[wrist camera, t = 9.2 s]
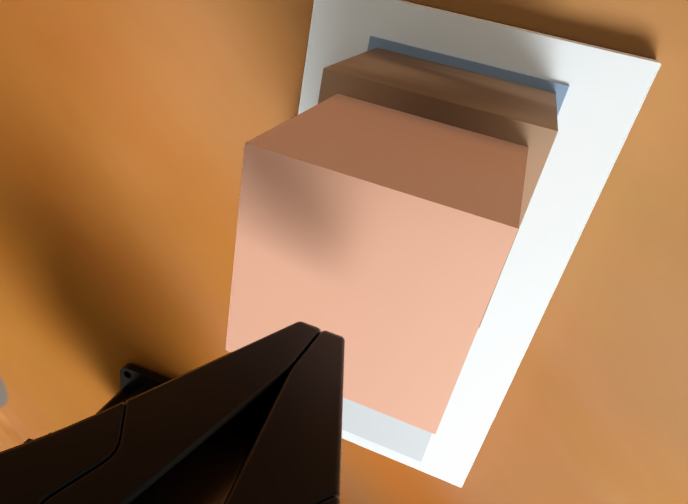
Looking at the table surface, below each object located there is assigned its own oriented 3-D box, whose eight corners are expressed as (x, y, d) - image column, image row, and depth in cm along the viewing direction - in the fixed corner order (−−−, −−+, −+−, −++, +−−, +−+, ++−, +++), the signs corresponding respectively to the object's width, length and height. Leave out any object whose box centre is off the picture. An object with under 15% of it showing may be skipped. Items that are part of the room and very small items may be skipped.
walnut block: (344, 205, 21) (292, 262, 17) (376, 47, 18) (323, 68, 14) (494, 253, 20) (479, 328, 15) (555, 93, 17) (557, 131, 12)
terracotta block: (308, 254, 16) (225, 349, 12) (337, 93, 14) (245, 142, 10) (466, 309, 15) (435, 434, 11) (528, 147, 13) (518, 228, 9)
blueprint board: (264, 392, 28) (256, 404, 28) (325, -18, 18) (315, -18, 18) (463, 474, 26) (461, 489, 25) (656, 60, 16) (662, 63, 15)
